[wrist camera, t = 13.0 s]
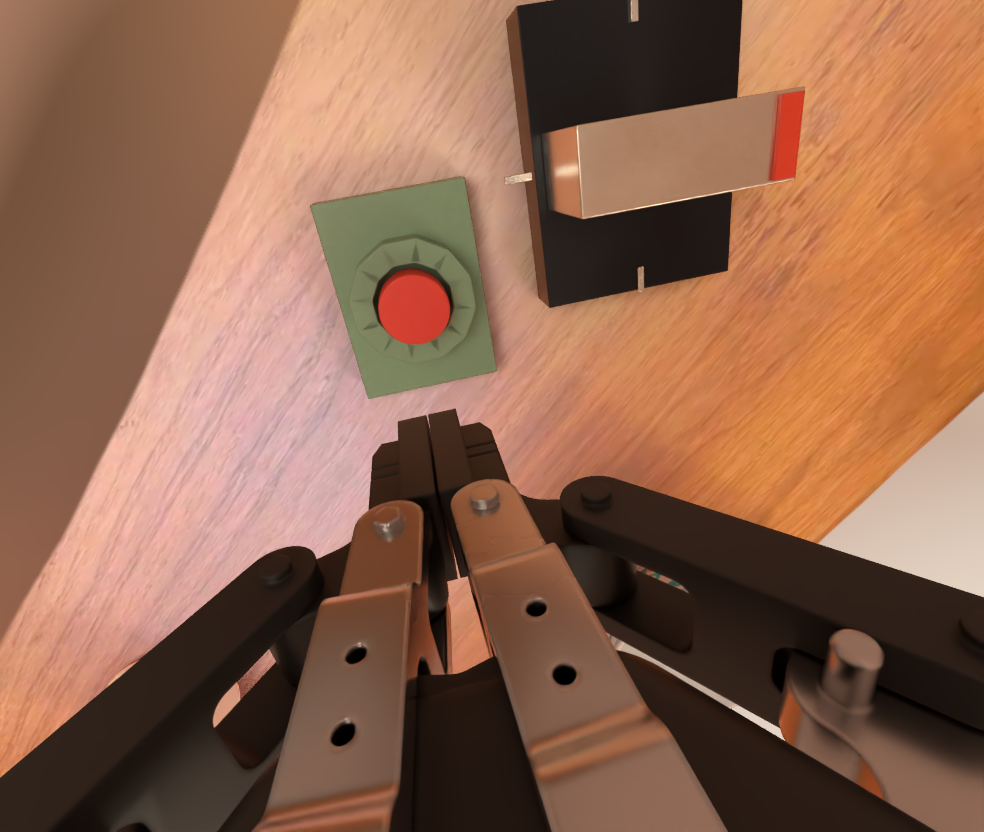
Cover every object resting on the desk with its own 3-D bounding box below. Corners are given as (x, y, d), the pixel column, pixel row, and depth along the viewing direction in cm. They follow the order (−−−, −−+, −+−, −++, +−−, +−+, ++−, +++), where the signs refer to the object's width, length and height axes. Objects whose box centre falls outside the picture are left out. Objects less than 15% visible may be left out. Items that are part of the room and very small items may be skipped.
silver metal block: (548, 210, 27) (584, 220, 22) (540, 133, 25) (577, 124, 20) (725, 177, 28) (799, 180, 23) (729, 101, 26) (810, 85, 21)
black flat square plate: (473, 22, 25) (482, 7, 23) (744, -21, 26) (778, -40, 24) (513, 304, 31) (523, 316, 29) (728, 260, 33) (754, 268, 30)
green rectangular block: (314, 203, 27) (304, 207, 24) (460, 176, 28) (469, 177, 25) (369, 388, 32) (366, 412, 29) (492, 362, 33) (502, 382, 30)
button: (371, 275, 26) (369, 282, 25) (439, 262, 27) (442, 267, 25) (388, 341, 28) (388, 351, 26) (453, 327, 28) (456, 337, 27)
